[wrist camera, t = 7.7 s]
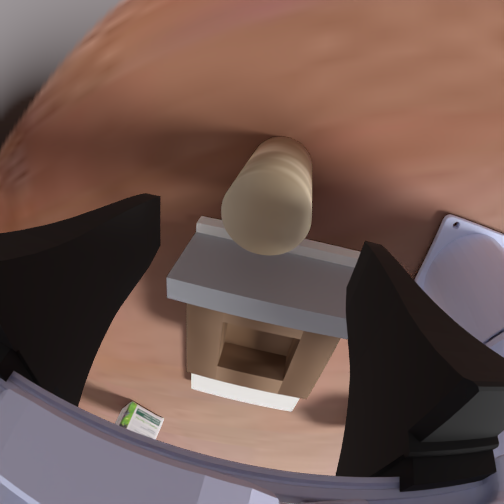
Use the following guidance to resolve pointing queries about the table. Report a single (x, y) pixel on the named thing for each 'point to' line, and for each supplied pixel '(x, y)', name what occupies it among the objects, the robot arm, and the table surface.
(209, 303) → the backstop board
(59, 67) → the table surface
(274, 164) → the birch dowel
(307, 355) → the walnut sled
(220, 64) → the table surface
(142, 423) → the syrup box
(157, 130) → the table surface
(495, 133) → the table surface
